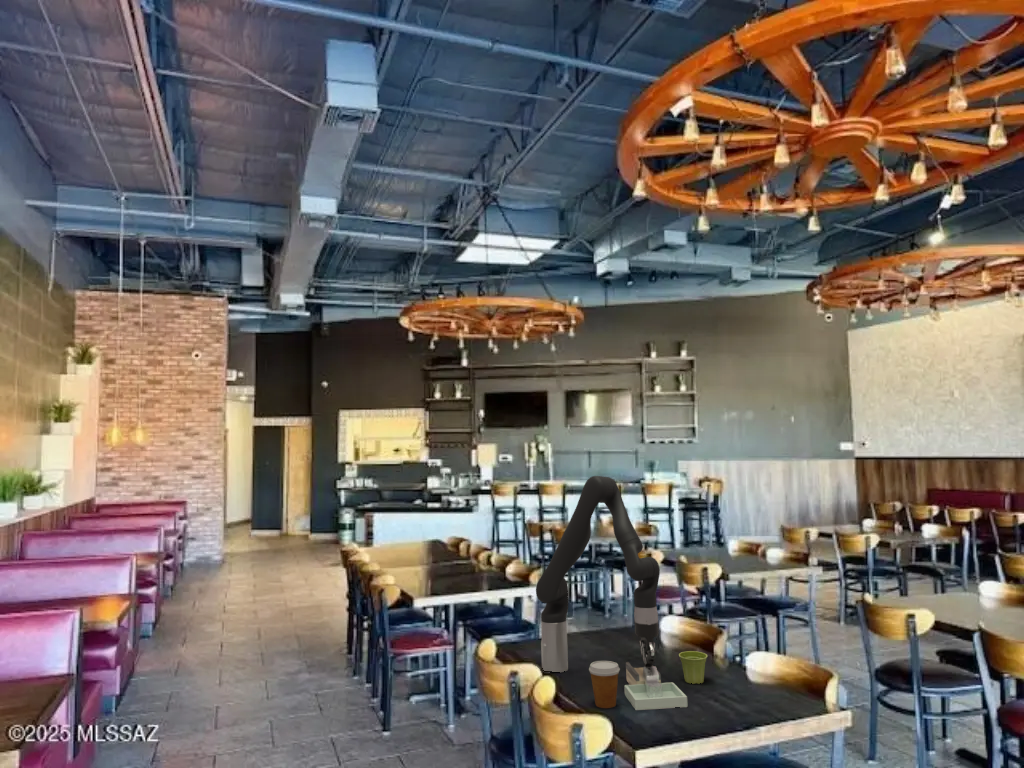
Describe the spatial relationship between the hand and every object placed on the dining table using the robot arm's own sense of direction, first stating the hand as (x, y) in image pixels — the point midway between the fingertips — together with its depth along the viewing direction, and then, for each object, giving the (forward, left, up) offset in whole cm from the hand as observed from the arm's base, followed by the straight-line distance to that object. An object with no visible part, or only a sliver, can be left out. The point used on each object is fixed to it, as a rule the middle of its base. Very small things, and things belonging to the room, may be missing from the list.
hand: (648, 675), depth 233 cm
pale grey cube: (0, -5, -3) cm, 5 cm away
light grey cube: (0, -2, -1) cm, 3 cm away
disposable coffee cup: (-16, -9, -6) cm, 19 cm away
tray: (0, -8, -5) cm, 10 cm away
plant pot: (+18, +8, -6) cm, 20 cm away
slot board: (0, +6, -5) cm, 8 cm away
